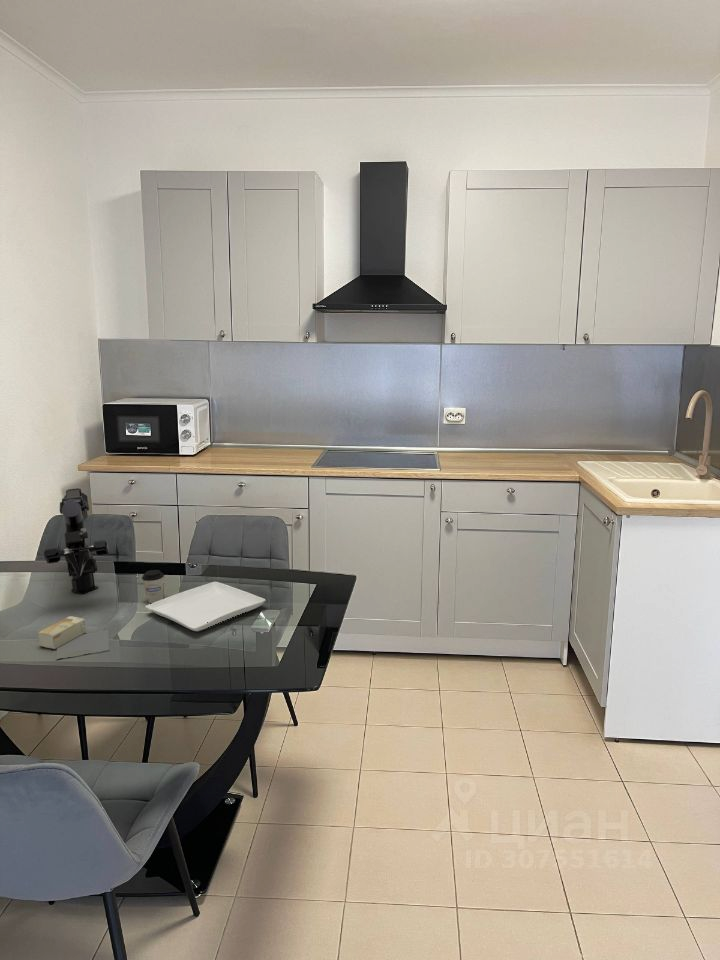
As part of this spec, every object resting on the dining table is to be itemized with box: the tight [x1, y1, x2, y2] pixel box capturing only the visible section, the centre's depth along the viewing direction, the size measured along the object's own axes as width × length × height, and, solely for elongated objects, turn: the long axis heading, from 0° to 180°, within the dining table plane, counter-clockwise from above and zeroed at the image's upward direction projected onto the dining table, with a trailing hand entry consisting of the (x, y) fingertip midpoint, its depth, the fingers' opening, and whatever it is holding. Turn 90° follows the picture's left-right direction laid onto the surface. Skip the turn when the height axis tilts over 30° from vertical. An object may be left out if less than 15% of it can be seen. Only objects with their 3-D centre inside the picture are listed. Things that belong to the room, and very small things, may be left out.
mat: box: [56, 629, 110, 653], centre depth 210 cm, size 14×14×1 cm
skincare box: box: [37, 615, 87, 650], centre depth 213 cm, size 6×4×12 cm
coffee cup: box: [141, 569, 165, 604], centre depth 238 cm, size 7×7×10 cm
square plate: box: [145, 581, 267, 632], centre depth 230 cm, size 27×27×4 cm
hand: (79, 575), depth 229 cm, fingers closed
